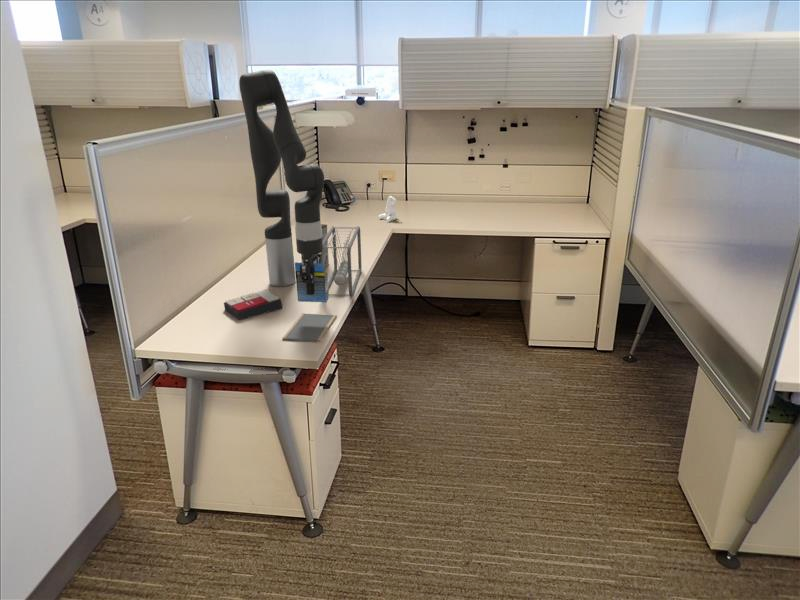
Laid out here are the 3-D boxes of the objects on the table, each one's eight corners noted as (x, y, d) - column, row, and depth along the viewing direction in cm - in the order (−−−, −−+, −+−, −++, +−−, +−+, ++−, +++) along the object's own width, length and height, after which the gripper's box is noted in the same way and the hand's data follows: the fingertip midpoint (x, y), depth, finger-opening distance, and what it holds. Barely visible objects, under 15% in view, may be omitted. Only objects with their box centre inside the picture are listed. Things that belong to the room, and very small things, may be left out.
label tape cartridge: (329, 298, 174) (327, 259, 169) (326, 303, 170) (324, 263, 165) (300, 297, 175) (297, 258, 170) (297, 301, 171) (294, 262, 166)
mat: (302, 315, 179) (302, 313, 179) (336, 317, 178) (336, 315, 178) (282, 340, 163) (282, 337, 163) (319, 342, 161) (319, 340, 161)
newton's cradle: (334, 270, 220) (332, 224, 214) (361, 270, 220) (360, 224, 213) (321, 298, 193) (318, 247, 186) (352, 299, 192) (350, 248, 185)
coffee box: (301, 266, 225) (298, 226, 219) (309, 261, 230) (306, 222, 224) (322, 268, 222) (319, 227, 216) (329, 263, 227) (327, 223, 221)
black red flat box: (222, 300, 183) (265, 287, 191) (225, 312, 185) (267, 299, 193) (237, 310, 175) (281, 296, 183) (239, 323, 177) (283, 308, 185)
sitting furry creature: (377, 218, 295) (376, 195, 291) (391, 216, 300) (390, 193, 296) (388, 222, 288) (387, 198, 284) (401, 219, 293) (401, 196, 288)
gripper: (304, 229, 172) (308, 283, 178) (288, 242, 159) (293, 299, 165) (328, 230, 171) (331, 284, 177) (314, 243, 158) (318, 301, 164)
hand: (312, 291), depth 171 cm, fingers closed on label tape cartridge, 4 cm apart
